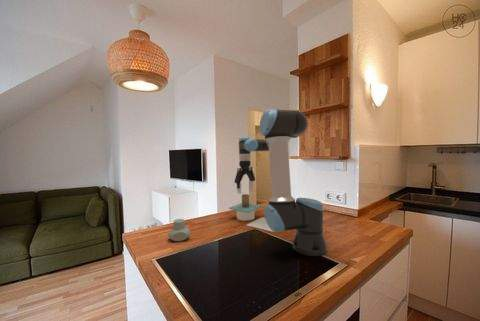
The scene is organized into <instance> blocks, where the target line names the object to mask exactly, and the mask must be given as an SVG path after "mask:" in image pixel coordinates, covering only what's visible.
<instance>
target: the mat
mask: <svg viewBox="0 0 480 321" xmlns="http://www.w3.org/2000/svg"><path fill="white" fill-rule="evenodd" d="M246 226H247V227H253V228H256V229H261V230H265V231H269V232H274V231H273V230H271V229H270V227H269V226H268V224H267V222H266V219H265V216H264V217H263V216H261V217H260V218H257V219H254V220H253V221H251V222H249V223H247V224H246Z"/></svg>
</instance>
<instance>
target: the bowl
mask: <svg viewBox="0 0 480 321" xmlns="http://www.w3.org/2000/svg"><path fill="white" fill-rule="evenodd" d="M255 212H256V210H254V211H252V212H249V213H246V212H241V211H236V219H237V220H238V221H243V222H246V221H247V222H248V221H249V222H250V221H252V220H253V221H254V220H255V218H256V217H255V216H256V215H255Z"/></svg>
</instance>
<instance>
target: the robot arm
mask: <svg viewBox="0 0 480 321" xmlns="http://www.w3.org/2000/svg"><path fill="white" fill-rule="evenodd" d="M308 122H309V121H308V118H307V117H306V115H305V114H304V113H303V112H301V111H299V110H294V109H293V110H292V109H278V108H274V109H267V110H264V112H263V113H262V115H261V118H260V121H259V133H260V135H261V136H263V137H264V139H263V138H262V139H260V138H259V139H258V138H257V139H253V138H250V137H247V136H245V137H244V136H243V137H239V138H238V153H239V154H238V156H239V157H238V159H239V163H238V164H239V167H240V168H239V167H238V168H237V169H236V174H235V178H234V183H235V184H236V192H237V194H241V195H242V183H241V182H242V180H243V178H244V176H245V175H246V176H247V178H248V179H249V181H248V186H249V188H248V189H249V191H254V181H255V180H256V177H255V174H254V170H253V166H251V152H269V170H270V188H271V189H270V190H271V197H270V198H269V199H268V204H266V205H265V207H264V211H263V212H264V213H263V214H264V218H265V219H266V222H267V224H268V226H269V227H270V229H271V230H273V232H275V233H277V232H282V233H283V232H285V231H292V230H296V232H295V234H294V238H293V240H292V248H293V250H294V251H295V252H296V253H299V254H301V255H303V256H308V257H321V256H323V255H325V254H326V253H328V245H327V242H326V239H325V236H324V231H323V230H324V229H323V228H324V209H323V208H324V207H323V203H322V202H321V201H319V199H313V198H308V197H297V198H296V199H295V197H293V196H292V187H291V185H292V184H291V173H290V172H291V171H290V156H289V155H290V154H289V141H290V140H291V139H296V138H298V137H301V136H302V135H303V134H305V132H306V131H307V129H308V125H309V123H308Z"/></svg>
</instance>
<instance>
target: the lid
mask: <svg viewBox="0 0 480 321" xmlns="http://www.w3.org/2000/svg"><path fill="white" fill-rule="evenodd" d="M262 207H263V206H262V205H259V204H254V203H253V204H252V203H250V194H247V193H245V194H241V203H239V204H236V205H233V206H229V207H228V210H230V211H231V210H233V211H235V212H237V211H241V212H246V213H249V212H252V211H254V210H255V211H256V210H259V209H261V208H262Z"/></svg>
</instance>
